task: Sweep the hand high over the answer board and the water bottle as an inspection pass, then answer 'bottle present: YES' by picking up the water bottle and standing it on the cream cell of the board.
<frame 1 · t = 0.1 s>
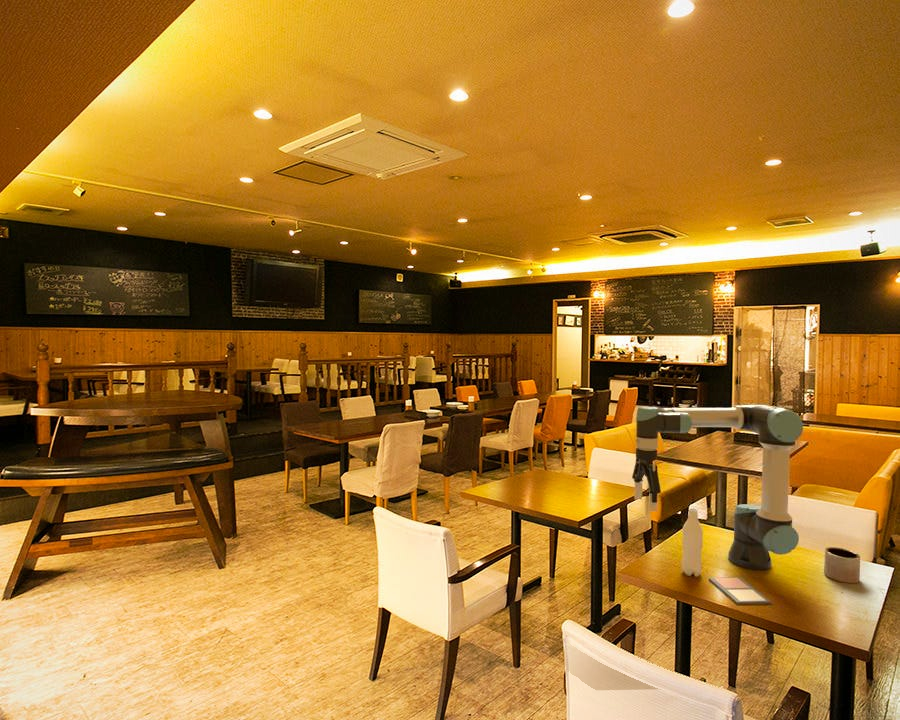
hand: (645, 504, 194), 28 cm above the table, fingers open, 13 cm apart
water bottle: (691, 574, 200), on the table
answer board: (738, 591, 186), on the table
planter: (841, 578, 198), on the table
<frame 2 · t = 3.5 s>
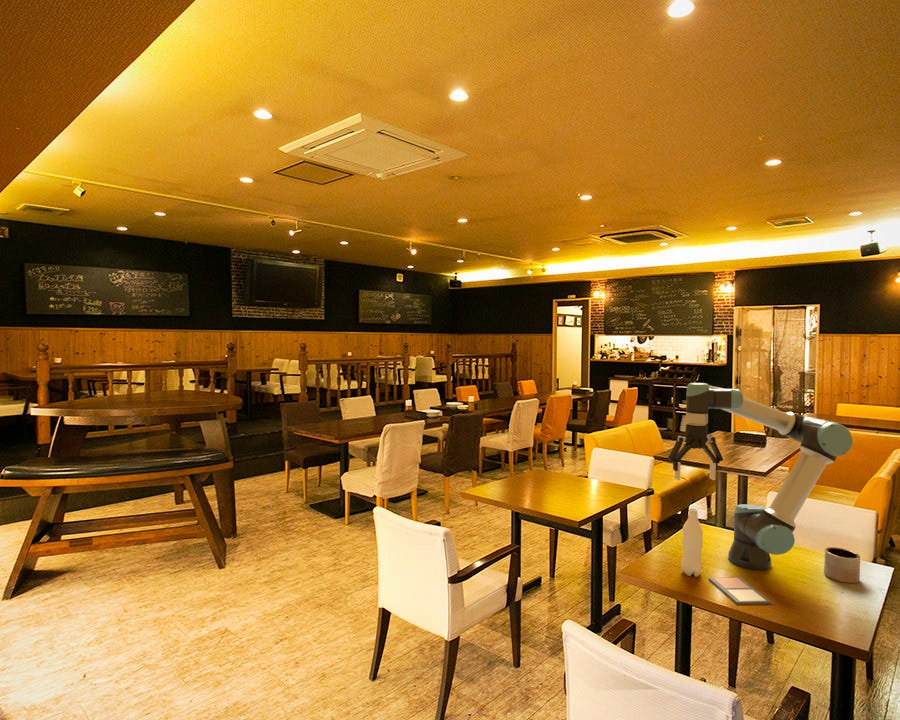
hand: (694, 479, 198), 37 cm above the table, fingers open, 13 cm apart
nothing on the table moved.
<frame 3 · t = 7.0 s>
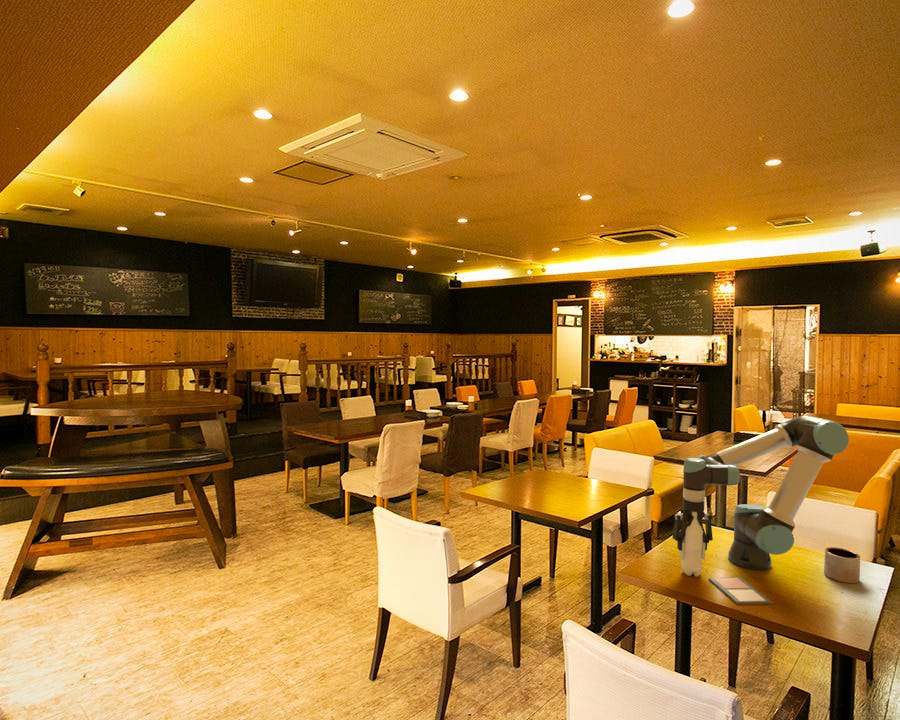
hand: (691, 558, 199), 6 cm above the table, fingers closed on water bottle, 7 cm apart
water bottle: (691, 574, 200), on the table, touching gripper
everything else where it was.
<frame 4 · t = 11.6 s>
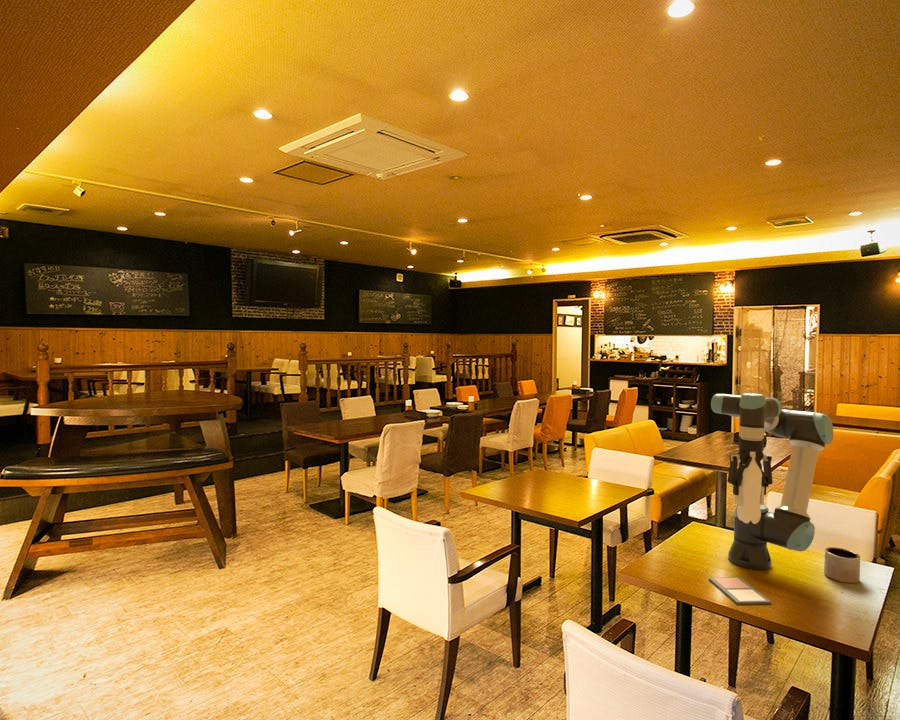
hand: (749, 504, 180), 33 cm above the table, fingers closed on water bottle, 7 cm apart
water bottle: (748, 522, 180), point 27 cm above the table, touching gripper
everything else where it was.
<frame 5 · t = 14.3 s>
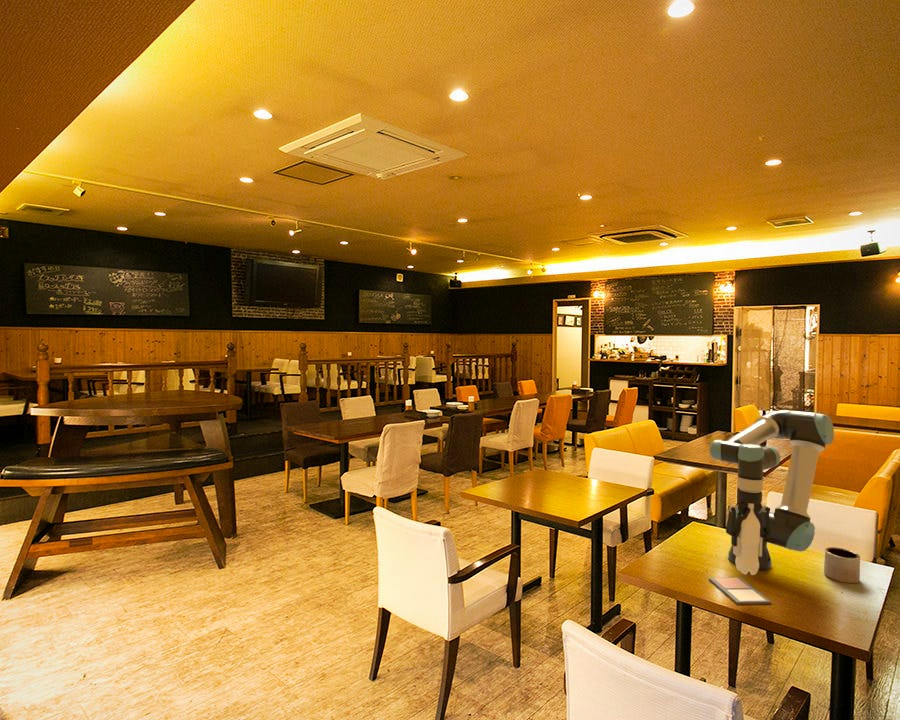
hand: (747, 554, 181), 15 cm above the table, fingers closed on water bottle, 7 cm apart
water bottle: (746, 572, 181), point 9 cm above the table, touching gripper
everything else where it was.
when the fingers open (8 cm above the table, at t = 16.5 s): water bottle stays where it is, resting on answer board.
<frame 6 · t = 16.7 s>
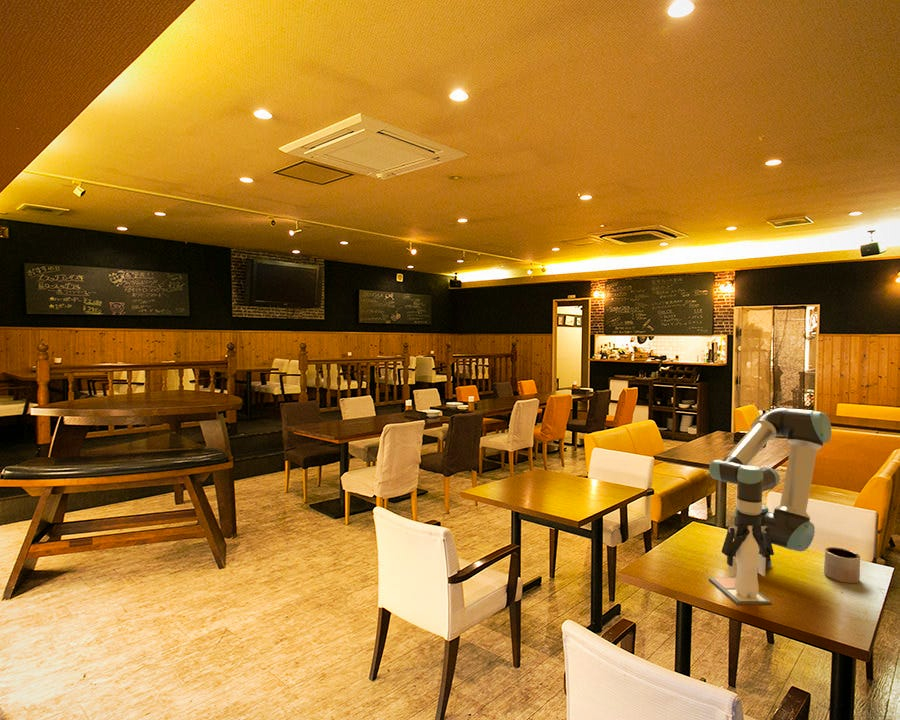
hand: (746, 574, 181), 8 cm above the table, fingers open, 10 cm apart
water bottle: (746, 595, 182), point 1 cm above the table, touching answer board
everything else where it was.
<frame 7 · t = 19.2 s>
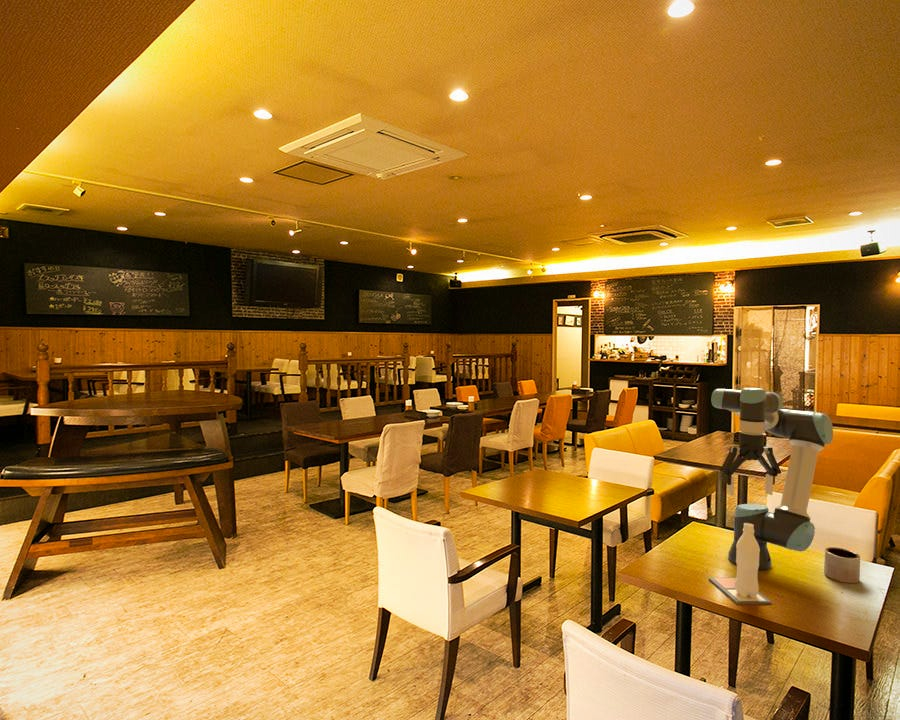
hand: (749, 493, 180), 37 cm above the table, fingers open, 13 cm apart
nothing on the table moved.
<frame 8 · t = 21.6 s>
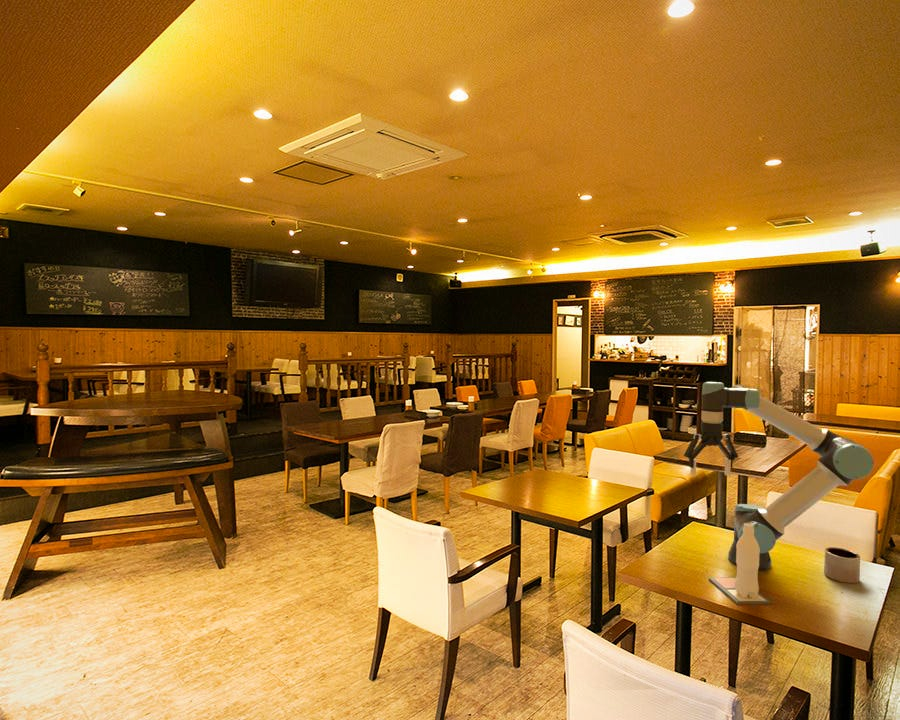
hand: (710, 475, 203), 37 cm above the table, fingers open, 13 cm apart
nothing on the table moved.
at the end: water bottle inside the target area on the answer board (0.3 cm from its centre), point 0.7 cm above the answer board's base; water bottle tilted 0°; the gripper is holding nothing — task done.
